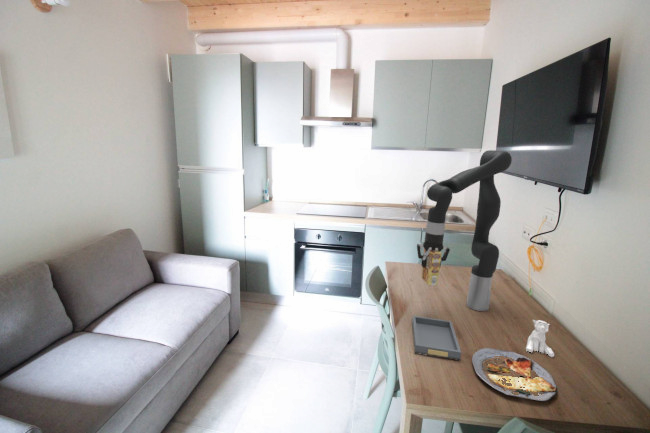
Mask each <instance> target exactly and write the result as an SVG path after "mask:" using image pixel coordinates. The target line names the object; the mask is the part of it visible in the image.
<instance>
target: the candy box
mask: <svg viewBox="0 0 650 433" xmlns="http://www.w3.org/2000/svg"><path fill="white" fill-rule="evenodd" d="M424 252H425V249H424V248H423V253H424ZM441 257H442V252H441V251H435V250H431V251H429V254H428V256H427V257H426V259H425V260H426V261H425V268H423V267H422V266H421V275H420V278H421V279H422V280H423V281H424V282H425V283H426V284H427V285H428V286H439V284H438V283H439V278H440V277H439V276H440V275H439V274H440V269H441V267H440V260H441Z"/></svg>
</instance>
